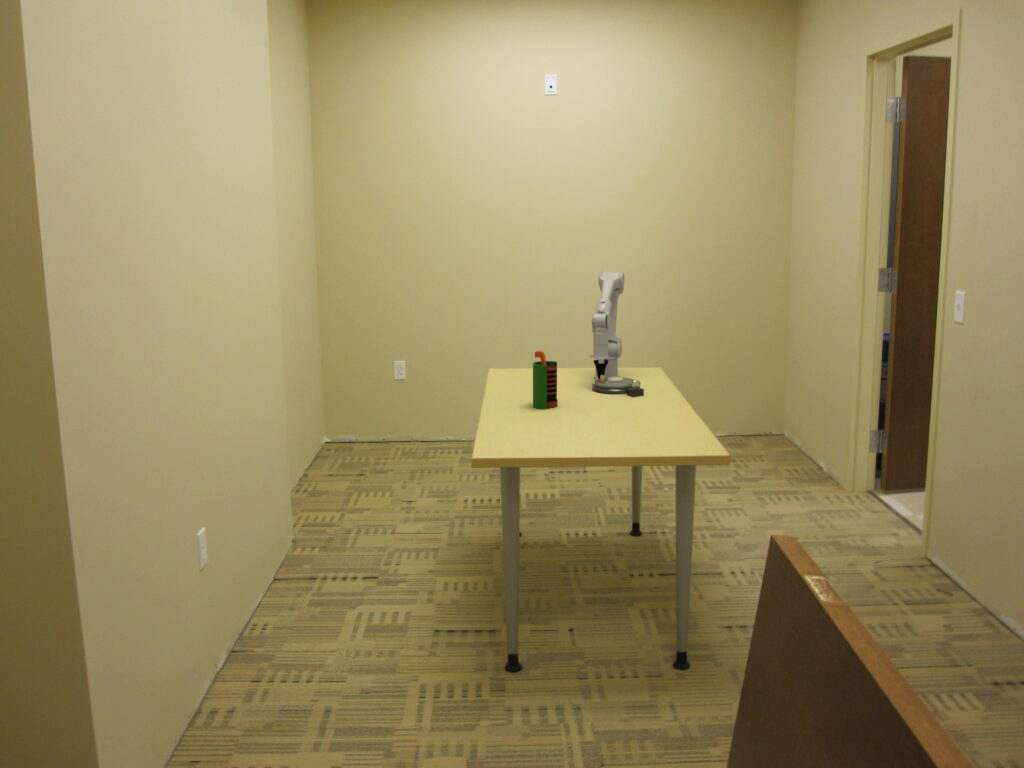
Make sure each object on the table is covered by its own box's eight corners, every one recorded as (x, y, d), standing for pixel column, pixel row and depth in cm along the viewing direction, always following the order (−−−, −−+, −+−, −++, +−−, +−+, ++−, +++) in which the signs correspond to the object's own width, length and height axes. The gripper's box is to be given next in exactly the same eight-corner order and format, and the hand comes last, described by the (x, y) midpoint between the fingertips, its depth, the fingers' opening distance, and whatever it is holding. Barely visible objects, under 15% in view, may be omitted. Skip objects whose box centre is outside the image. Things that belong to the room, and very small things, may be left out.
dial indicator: (624, 394, 340) (624, 379, 338) (635, 393, 342) (635, 377, 341) (632, 397, 335) (633, 381, 334) (643, 395, 338) (643, 379, 336)
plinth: (583, 387, 353) (583, 384, 353) (620, 382, 361) (620, 378, 361) (609, 396, 337) (609, 392, 337) (648, 390, 346) (648, 386, 345)
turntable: (586, 383, 352) (586, 372, 351) (620, 379, 360) (620, 368, 359) (610, 391, 338) (610, 379, 337) (644, 386, 346) (644, 374, 345)
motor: (555, 409, 319) (554, 354, 314) (530, 408, 320) (529, 353, 316) (559, 403, 328) (559, 349, 324) (535, 402, 330) (534, 348, 326)
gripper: (590, 341, 355) (590, 374, 358) (590, 347, 341) (590, 382, 344) (608, 340, 355) (608, 374, 358) (609, 347, 341) (609, 382, 344)
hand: (600, 378), depth 351 cm, fingers closed
